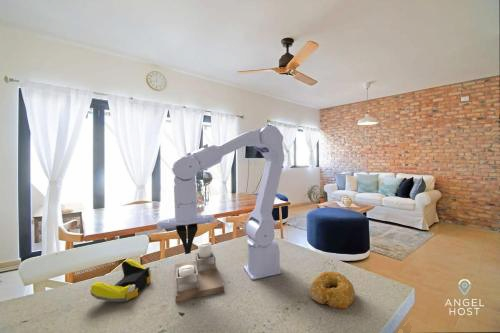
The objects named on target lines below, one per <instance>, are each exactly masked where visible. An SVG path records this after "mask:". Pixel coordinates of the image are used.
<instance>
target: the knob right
mask: <svg viewBox="0 0 500 333" xmlns="http://www.w3.org/2000/svg"><path fill="white" fill-rule="evenodd" d="M197 246H198V248H197V249H198V251H197V252H198V253H199V259H204V258H209V257H212V242H210V241H203V242H200V243H198V245H197Z"/></svg>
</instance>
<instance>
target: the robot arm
mask: <svg viewBox="0 0 500 333" xmlns="http://www.w3.org/2000/svg"><path fill="white" fill-rule="evenodd" d="M283 140H284V135H283V134H282V133H281V131H280V130H279V128H278V127H277V126H275V125H267V126H264V127H260V128H256V129H253V130H249V131H246V132H243V133H241V134H239V135H237V136H235V137H232V138H231V139H229V140H228V141H224V143H221V144H218V145H215V144H213V143H210V144H208V143H205V144H202V148H200V149H198V150H195V151H192V152H190V151H188V152H186V156H182V157H180V158H177V159H176V160H175V161H174V163H172V168H171V171H172V173H173V175H174V179H173V183H174V185H173V196H174V200H173V201H174V217H172V218H168V219H162V220H157V221H156V229H157V230H156V231H162V230H163V229H172V228H176V231H175V232H176V233H177V235H178V237H179V239H180V240H181V243H182V245H183V248H184V254H185V255H188V254H191V251H192V247H193V246H192V245H193V242H194V239H195V236H196V234H197V233H198V229H199V228H198V225H204V224H210V225H211V224H215V215H214V214H202V215H201V214H200V215H199V214H198V197H197V191H198V190H197V183H196V176H197V175H198V172H199V173H202V172H204V171H206V170H208V169H210V168H212V167H214V166H216V165H218V164H220V163H221V162H222V159H223V157H224V156H226V155H228V154H231V153H232V152H235V151H238V150H239V149H242V148H244V147H253V148H254V149H256V151H258V152H260V154H261V155H262V156H263V158H264V160H265V163H264V167H263V168H264V169H263V173H262V175H261V176H262V177H261V181H260V184H259V190H258V193H257V197H256V201H255V204H254V205H255V206H254V209H253V210H252V211H251V212H250V213H249V217H248V218H247V220H246V221H245V223H244V225H243V230H244V233H245V235H246V236H247V241H246V244H247V250H246V251H247V252H246V253H247V256H246V257H247V264H244V265H243V269H244V270H245V272H246V274H247V275H248V276H249V278H250V279H251V280H253V281H254V280H257V279H261V278H262V279H263V278H266V277H267V278H268V277H271V276H276V275H279V274H281V273H282V271H281V265H280V259H281V258H280V254H281V253H280V247H279V245H278V242H277V241H276V240H275V223H276V222H275V219H274V217H273V214H272V213H273V209H274V205H275V200H276V198H277V192H278V187H279V184H280V180H281V175H282V170H283V167H284V162H285V151H284V147H283V143H284V142H283Z"/></svg>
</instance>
